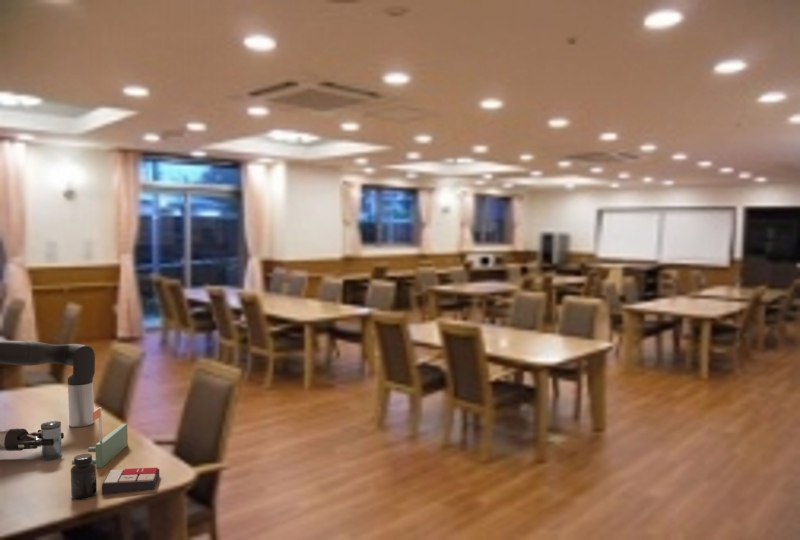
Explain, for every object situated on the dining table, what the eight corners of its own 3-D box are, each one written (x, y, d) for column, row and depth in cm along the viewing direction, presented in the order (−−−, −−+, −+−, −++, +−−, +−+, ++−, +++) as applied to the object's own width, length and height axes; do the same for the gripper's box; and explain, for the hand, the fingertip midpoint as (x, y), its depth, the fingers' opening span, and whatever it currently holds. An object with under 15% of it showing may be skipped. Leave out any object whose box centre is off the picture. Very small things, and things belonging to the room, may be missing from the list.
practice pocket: (94, 445, 227) (93, 392, 226) (127, 444, 228) (126, 392, 226) (61, 471, 202) (59, 412, 201) (98, 471, 203) (96, 411, 201)
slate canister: (47, 454, 218) (46, 421, 218) (65, 453, 219) (64, 420, 218) (38, 460, 212) (37, 426, 212) (56, 460, 213) (55, 426, 212)
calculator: (154, 479, 188) (101, 481, 184) (154, 492, 188) (101, 495, 184) (159, 466, 198) (109, 468, 195) (159, 478, 199) (109, 481, 195)
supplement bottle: (90, 488, 189) (89, 450, 188) (100, 494, 184) (99, 455, 184) (67, 496, 183) (66, 457, 183) (77, 502, 179) (76, 462, 178)
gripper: (-4, 436, 207) (47, 435, 208) (20, 423, 221) (68, 422, 222) (-3, 457, 207) (48, 456, 208) (21, 443, 222) (69, 442, 223)
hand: (58, 438), depth 215 cm, fingers closed on slate canister, 6 cm apart
